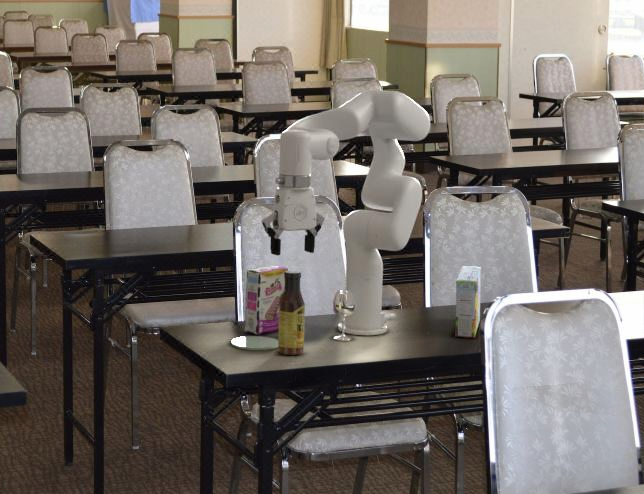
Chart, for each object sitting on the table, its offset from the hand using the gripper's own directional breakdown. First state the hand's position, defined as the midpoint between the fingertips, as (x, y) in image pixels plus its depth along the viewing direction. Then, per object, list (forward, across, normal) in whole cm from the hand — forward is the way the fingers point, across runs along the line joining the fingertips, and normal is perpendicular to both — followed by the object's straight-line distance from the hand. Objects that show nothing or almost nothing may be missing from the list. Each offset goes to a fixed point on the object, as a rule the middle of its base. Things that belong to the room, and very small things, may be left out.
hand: (292, 253), depth 295 cm
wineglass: (+24, +21, +6) cm, 33 cm away
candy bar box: (+24, +8, +22) cm, 34 cm away
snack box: (+24, +57, 0) cm, 62 cm away
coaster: (+24, -2, +11) cm, 27 cm away
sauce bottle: (+25, +1, 0) cm, 25 cm away
